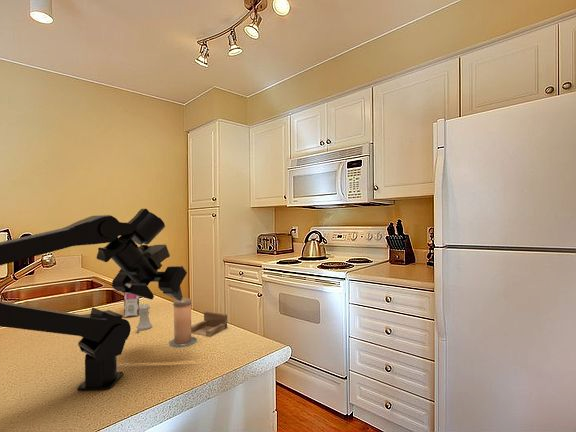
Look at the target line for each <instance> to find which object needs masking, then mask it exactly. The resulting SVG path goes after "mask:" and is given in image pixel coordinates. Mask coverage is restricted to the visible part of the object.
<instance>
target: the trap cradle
mask: <svg viewBox="0 0 576 432" xmlns="http://www.w3.org/2000/svg"><path fill="white" fill-rule="evenodd" d="M226 329H228V314H225V313H219V312H213V311H205V312H203V320H202V321H200V322H197V323H195V324H193V325H191V335H192V334H193V335H197V336H203V337H207V338H208V337H209V338H211V337H213V336H215V335H216V334H218V333H221V332H223V331H224V330H226Z"/></svg>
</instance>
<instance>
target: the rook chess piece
mask: <svg viewBox="0 0 576 432" xmlns="http://www.w3.org/2000/svg"><path fill="white" fill-rule="evenodd" d="M150 308H151V307H150V306H149V303H145V304H139V308H138V309H139V320H138V325H137V326H136V333H138V334H139V333H141V331H145V330H149V329H151V328H152V327H153V325H152V323H151V321H150V318H149V314H150V312H149V309H150Z"/></svg>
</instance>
